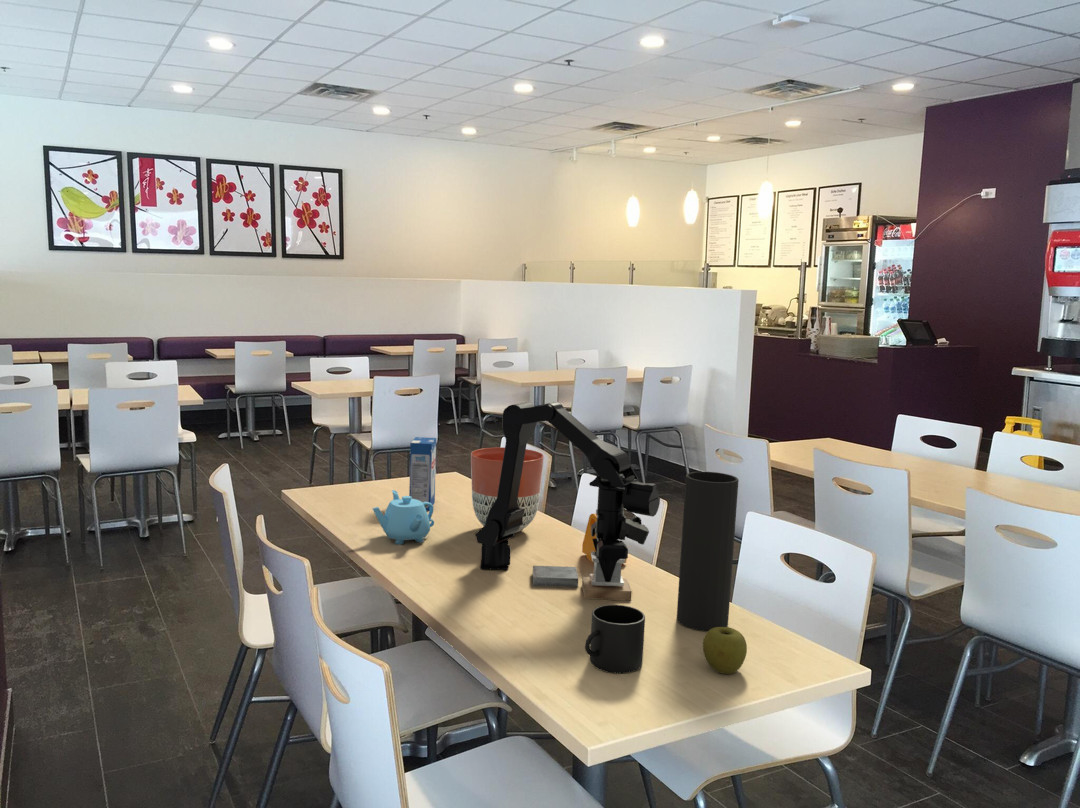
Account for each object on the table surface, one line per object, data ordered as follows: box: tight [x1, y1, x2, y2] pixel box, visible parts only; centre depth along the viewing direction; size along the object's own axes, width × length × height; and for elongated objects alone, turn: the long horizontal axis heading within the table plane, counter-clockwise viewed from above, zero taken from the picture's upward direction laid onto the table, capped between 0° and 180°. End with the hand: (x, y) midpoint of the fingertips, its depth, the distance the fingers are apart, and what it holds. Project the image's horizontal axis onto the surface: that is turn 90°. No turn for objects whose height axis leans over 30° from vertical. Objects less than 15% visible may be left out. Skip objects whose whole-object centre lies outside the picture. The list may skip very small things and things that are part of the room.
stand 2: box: [581, 576, 633, 601], centre depth 186 cm, size 10×8×2 cm
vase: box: [676, 471, 739, 632], centre depth 170 cm, size 10×10×30 cm
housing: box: [589, 551, 626, 586], centre depth 186 cm, size 7×5×6 cm
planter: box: [470, 446, 545, 534], centre depth 229 cm, size 20×20×21 cm
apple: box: [702, 626, 748, 675], centre depth 150 cm, size 8×8×7 cm
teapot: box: [372, 489, 435, 546], centre depth 219 cm, size 15×14×11 cm
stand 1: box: [532, 565, 579, 588], centre depth 193 cm, size 10×8×2 cm
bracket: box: [581, 513, 628, 564], centre depth 208 cm, size 11×7×12 cm, turn 22°
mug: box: [584, 604, 646, 674], centre depth 150 cm, size 9×12×9 cm
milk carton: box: [408, 436, 437, 512], centre depth 252 cm, size 10×6×20 cm, turn 179°
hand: (606, 577), depth 186 cm, fingers closed on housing, 5 cm apart
